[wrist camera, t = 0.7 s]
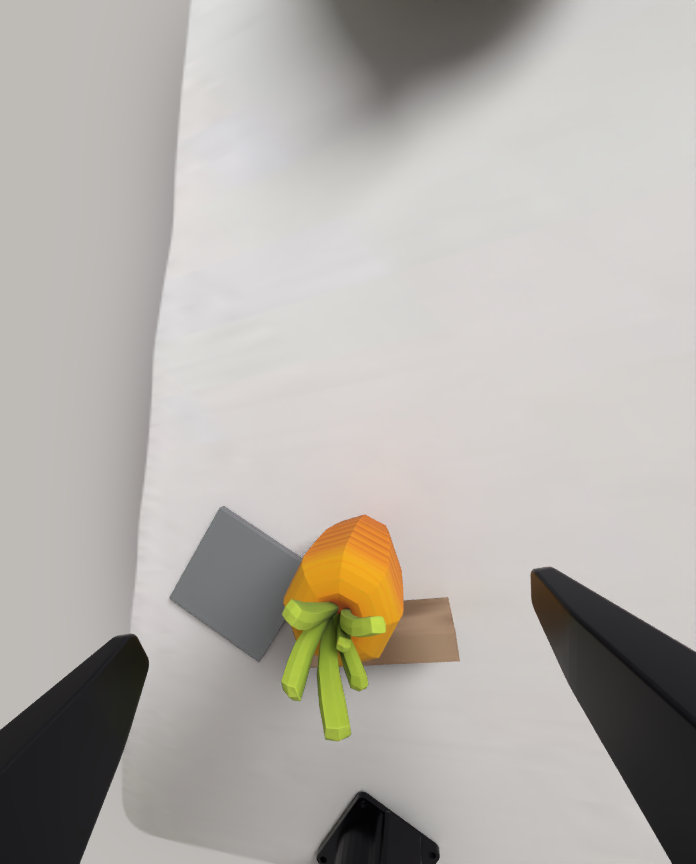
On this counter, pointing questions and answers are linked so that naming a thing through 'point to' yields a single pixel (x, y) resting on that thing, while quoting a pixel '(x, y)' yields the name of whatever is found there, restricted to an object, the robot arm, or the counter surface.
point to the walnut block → (419, 635)
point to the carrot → (342, 613)
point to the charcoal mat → (238, 582)
